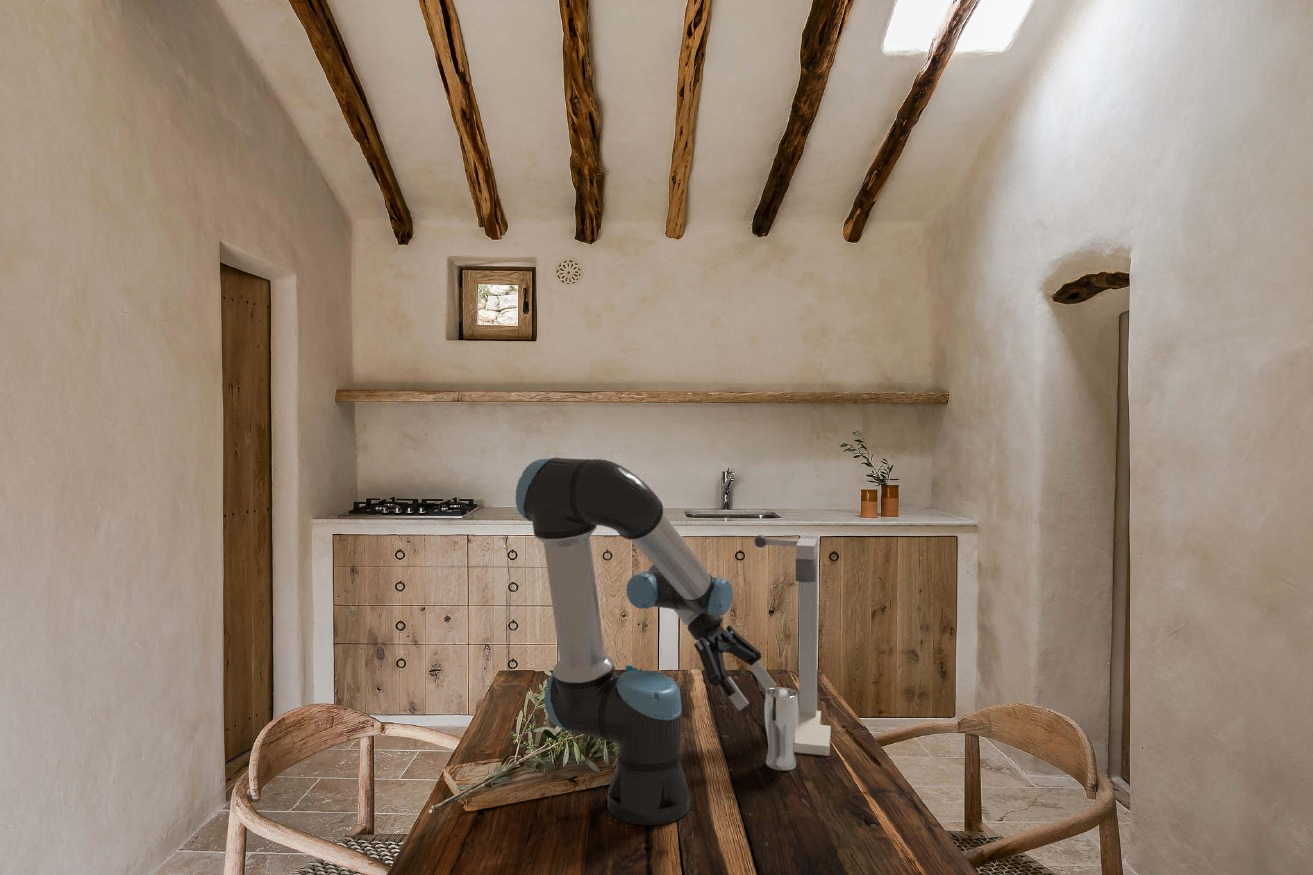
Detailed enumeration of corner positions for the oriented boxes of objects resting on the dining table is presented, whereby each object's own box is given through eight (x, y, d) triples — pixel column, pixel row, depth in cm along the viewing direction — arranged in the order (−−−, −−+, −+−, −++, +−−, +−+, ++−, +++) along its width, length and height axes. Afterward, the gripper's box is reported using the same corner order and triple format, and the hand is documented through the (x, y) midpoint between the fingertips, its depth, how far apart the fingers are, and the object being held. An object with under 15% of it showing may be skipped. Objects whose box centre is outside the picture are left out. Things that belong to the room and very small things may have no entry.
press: (829, 755, 163) (830, 549, 163) (742, 746, 168) (743, 545, 167) (831, 720, 183) (832, 536, 183) (754, 712, 188) (755, 533, 188)
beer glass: (761, 769, 156) (762, 695, 156) (766, 755, 163) (767, 685, 163) (796, 773, 154) (796, 699, 154) (800, 759, 161) (800, 688, 161)
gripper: (715, 615, 184) (771, 690, 176) (658, 639, 163) (719, 725, 155) (736, 596, 181) (793, 672, 173) (680, 618, 160) (743, 705, 152)
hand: (758, 697), depth 164 cm, fingers open, 13 cm apart
